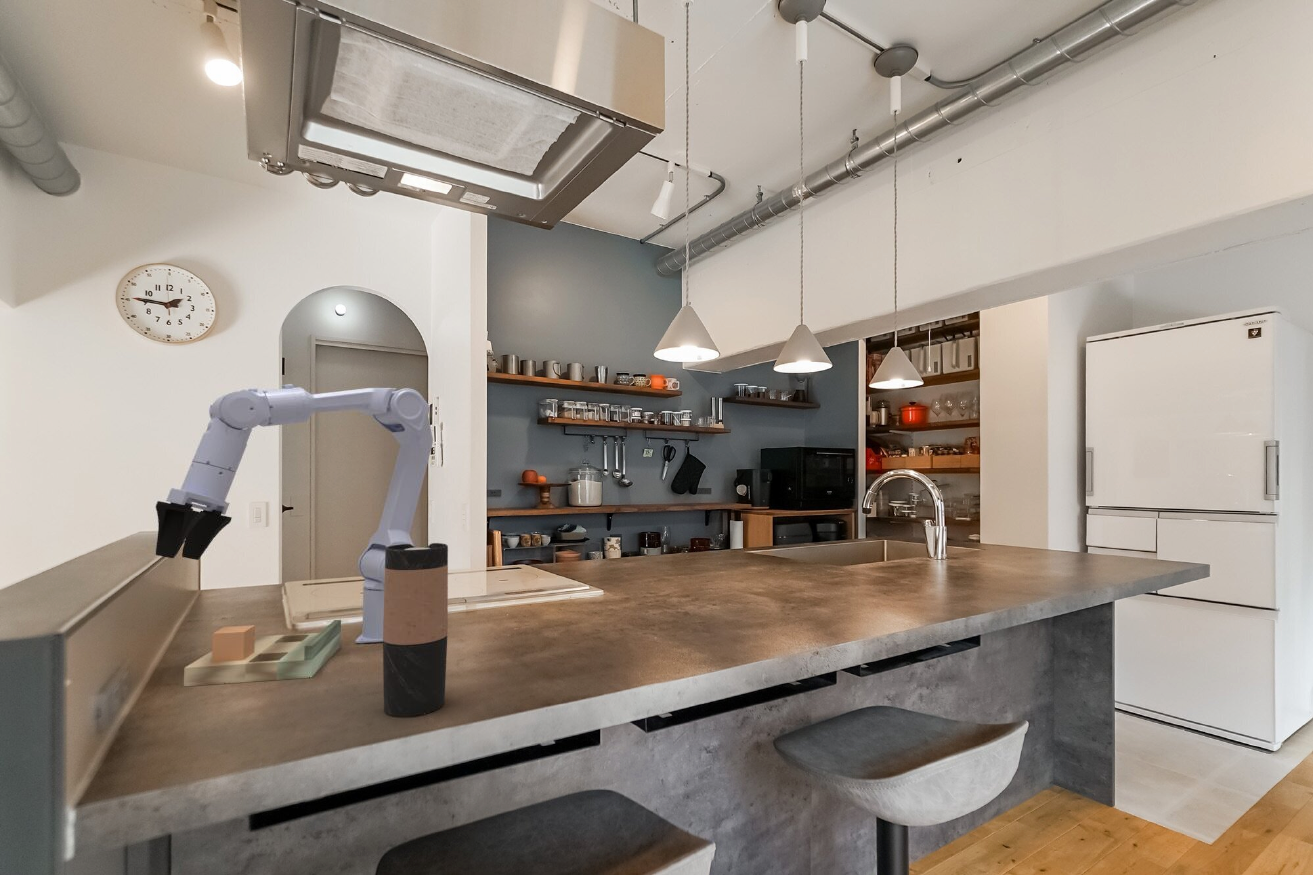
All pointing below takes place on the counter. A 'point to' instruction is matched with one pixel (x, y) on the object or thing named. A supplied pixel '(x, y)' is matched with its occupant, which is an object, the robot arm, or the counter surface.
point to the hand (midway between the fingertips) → (177, 557)
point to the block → (233, 643)
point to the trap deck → (270, 659)
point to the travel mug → (415, 628)
